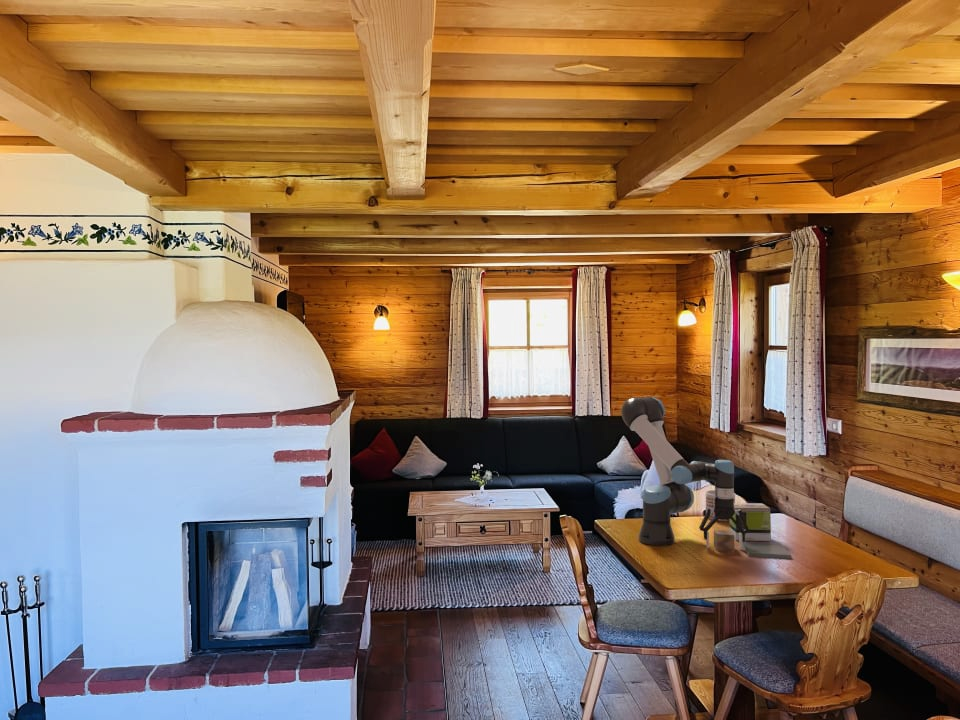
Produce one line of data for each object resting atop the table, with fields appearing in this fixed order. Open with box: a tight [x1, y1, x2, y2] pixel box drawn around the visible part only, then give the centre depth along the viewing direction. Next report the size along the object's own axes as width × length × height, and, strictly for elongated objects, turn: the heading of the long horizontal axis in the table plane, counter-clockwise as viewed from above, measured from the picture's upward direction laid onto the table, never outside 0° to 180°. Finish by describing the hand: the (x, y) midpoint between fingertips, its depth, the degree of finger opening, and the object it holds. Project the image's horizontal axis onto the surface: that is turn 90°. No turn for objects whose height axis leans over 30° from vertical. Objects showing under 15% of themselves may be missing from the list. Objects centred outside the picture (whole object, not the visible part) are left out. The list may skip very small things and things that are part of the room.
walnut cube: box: [713, 529, 735, 553], centre depth 273 cm, size 7×7×7 cm
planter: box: [705, 489, 736, 523], centre depth 324 cm, size 14×14×13 cm
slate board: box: [742, 541, 792, 560], centre depth 269 cm, size 16×16×2 cm
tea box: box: [729, 502, 772, 542], centre depth 289 cm, size 15×10×15 cm
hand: (724, 548), depth 273 cm, fingers open, 12 cm apart
